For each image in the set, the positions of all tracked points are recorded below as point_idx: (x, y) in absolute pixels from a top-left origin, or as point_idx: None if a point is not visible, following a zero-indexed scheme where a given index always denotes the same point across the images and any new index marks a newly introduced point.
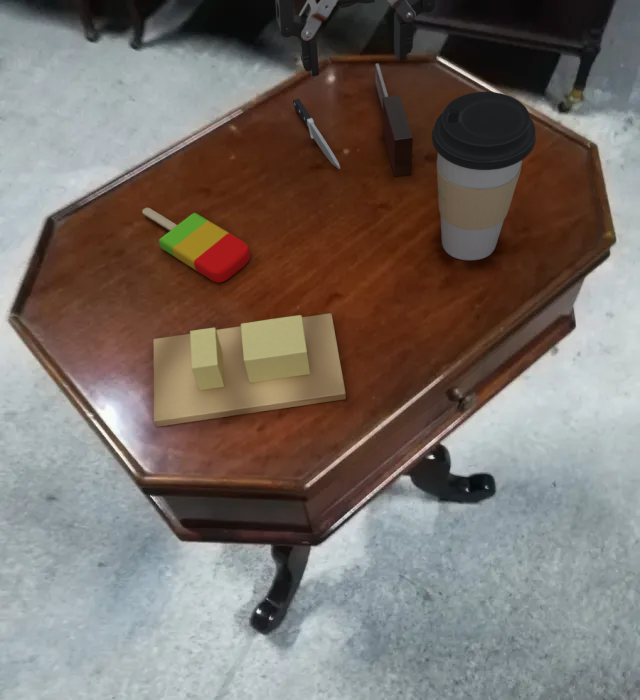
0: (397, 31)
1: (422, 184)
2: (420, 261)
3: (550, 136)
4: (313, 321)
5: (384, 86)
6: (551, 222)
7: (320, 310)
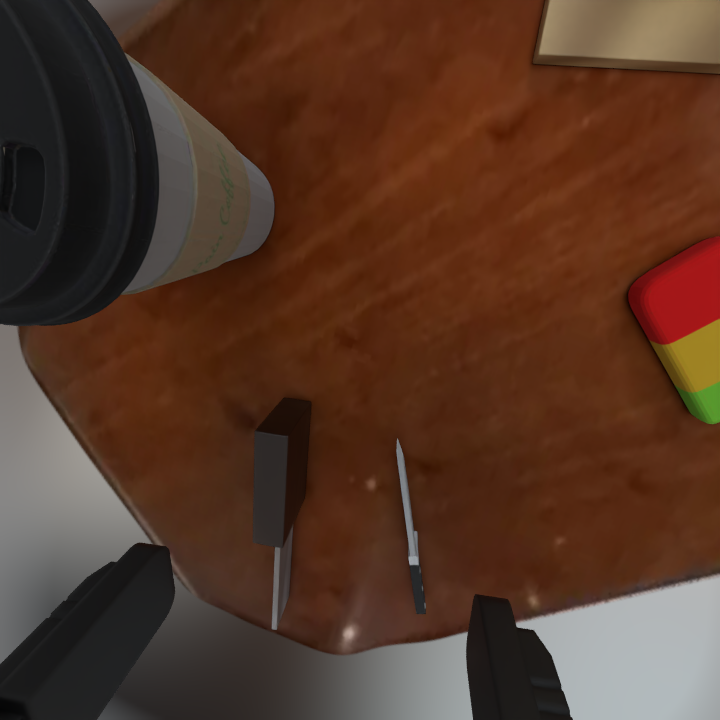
0: (90, 670)
1: (272, 369)
2: (321, 182)
3: (67, 401)
4: (585, 36)
5: (275, 579)
6: None
7: (544, 99)
